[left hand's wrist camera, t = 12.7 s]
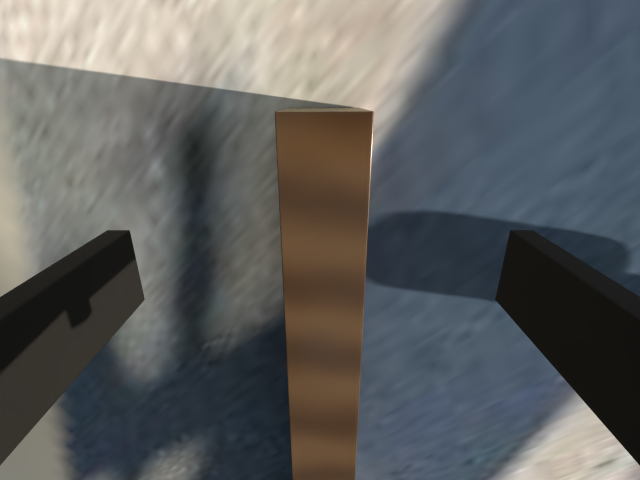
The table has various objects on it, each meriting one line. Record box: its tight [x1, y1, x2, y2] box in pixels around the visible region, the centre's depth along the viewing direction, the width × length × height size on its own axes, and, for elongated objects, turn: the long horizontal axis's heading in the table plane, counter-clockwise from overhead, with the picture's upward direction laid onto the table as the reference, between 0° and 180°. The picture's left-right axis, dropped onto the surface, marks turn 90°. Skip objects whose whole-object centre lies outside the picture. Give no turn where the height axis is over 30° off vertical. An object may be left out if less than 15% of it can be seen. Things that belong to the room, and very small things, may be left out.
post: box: [275, 108, 374, 480], centre depth 37 cm, size 72×6×8 cm, turn 0°
